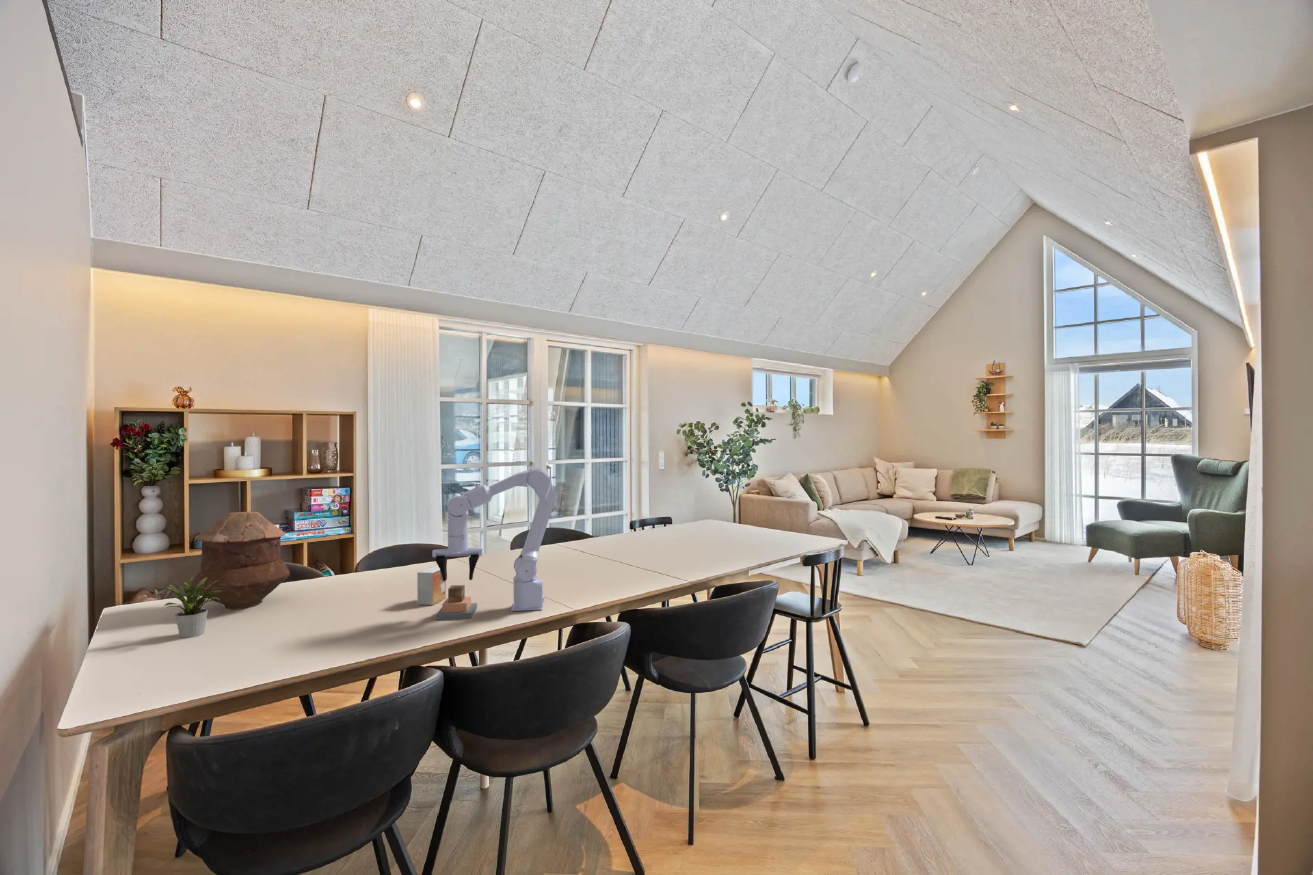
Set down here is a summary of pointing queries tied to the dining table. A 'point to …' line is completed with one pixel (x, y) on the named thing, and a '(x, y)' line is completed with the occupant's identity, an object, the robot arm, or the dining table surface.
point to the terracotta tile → (456, 605)
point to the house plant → (192, 609)
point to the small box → (430, 586)
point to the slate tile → (457, 613)
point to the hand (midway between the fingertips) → (458, 579)
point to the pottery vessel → (241, 559)
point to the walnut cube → (456, 593)
